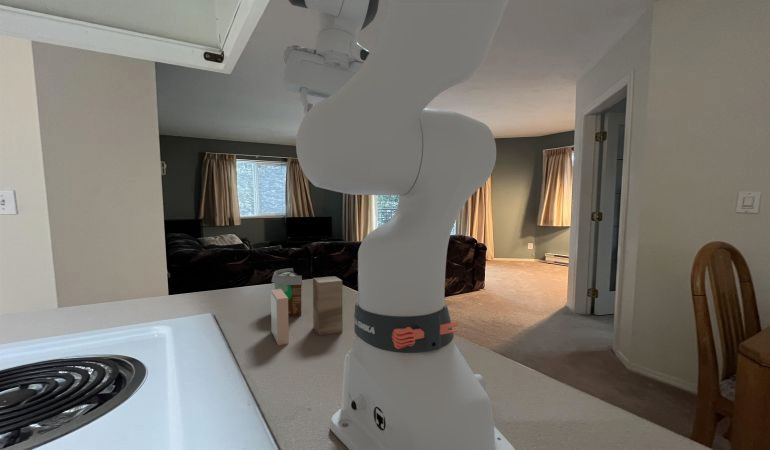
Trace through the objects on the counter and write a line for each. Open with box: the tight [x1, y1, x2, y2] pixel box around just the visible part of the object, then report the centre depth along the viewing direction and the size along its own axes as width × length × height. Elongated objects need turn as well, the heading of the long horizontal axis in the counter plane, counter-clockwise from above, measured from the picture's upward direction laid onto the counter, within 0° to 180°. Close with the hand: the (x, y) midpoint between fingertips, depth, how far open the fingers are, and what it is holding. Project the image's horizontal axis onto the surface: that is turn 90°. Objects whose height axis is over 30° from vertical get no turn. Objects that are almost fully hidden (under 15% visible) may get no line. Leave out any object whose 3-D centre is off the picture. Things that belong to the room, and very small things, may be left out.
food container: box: [271, 267, 303, 317], centre depth 88 cm, size 12×6×10 cm, turn 25°
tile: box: [270, 289, 290, 346], centre depth 71 cm, size 8×2×9 cm, turn 26°
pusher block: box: [312, 275, 344, 337], centre depth 75 cm, size 5×5×11 cm
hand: (331, 118), depth 72 cm, fingers open, 8 cm apart
